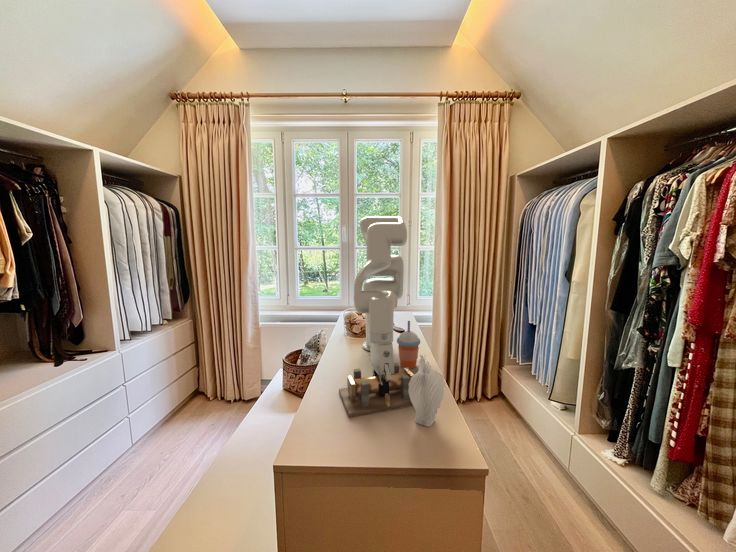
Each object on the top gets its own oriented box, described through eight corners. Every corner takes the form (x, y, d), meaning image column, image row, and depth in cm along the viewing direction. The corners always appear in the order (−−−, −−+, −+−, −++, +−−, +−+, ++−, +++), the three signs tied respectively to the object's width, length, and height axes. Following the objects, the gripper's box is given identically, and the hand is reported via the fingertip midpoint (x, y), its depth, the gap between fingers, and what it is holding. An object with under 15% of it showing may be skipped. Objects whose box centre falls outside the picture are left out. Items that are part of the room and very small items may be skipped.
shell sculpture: (436, 435, 76) (438, 369, 73) (406, 425, 80) (407, 362, 77) (444, 418, 83) (447, 357, 81) (416, 409, 87) (418, 351, 85)
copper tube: (351, 401, 88) (351, 384, 87) (347, 392, 93) (347, 376, 92) (413, 391, 94) (414, 375, 93) (406, 383, 99) (406, 367, 98)
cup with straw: (419, 371, 111) (420, 325, 109) (395, 369, 113) (395, 323, 111) (420, 361, 120) (421, 318, 118) (397, 359, 122) (398, 317, 119)
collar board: (339, 392, 97) (338, 368, 96) (406, 381, 104) (407, 359, 102) (348, 417, 83) (348, 390, 82) (425, 403, 90) (426, 378, 89)
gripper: (403, 344, 84) (402, 403, 86) (383, 326, 100) (382, 376, 102) (378, 347, 82) (378, 408, 84) (361, 328, 98) (362, 380, 100)
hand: (380, 390), depth 93 cm, fingers closed on copper tube, 5 cm apart
